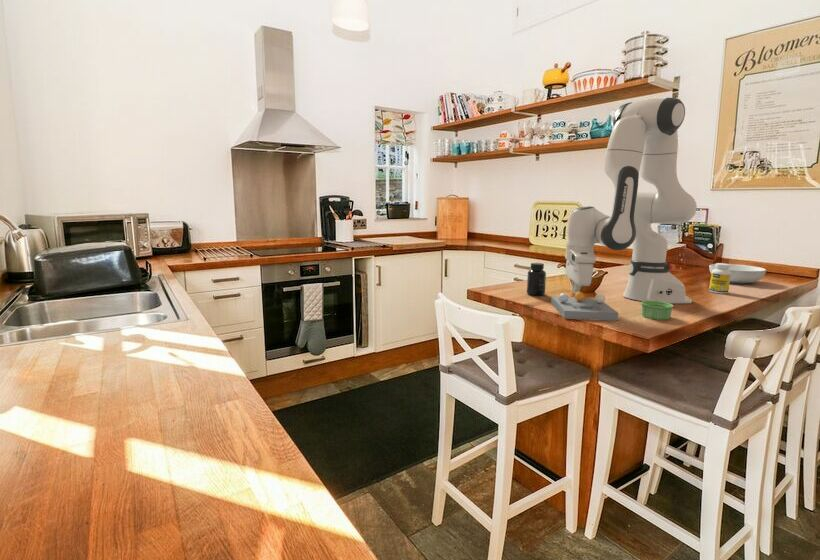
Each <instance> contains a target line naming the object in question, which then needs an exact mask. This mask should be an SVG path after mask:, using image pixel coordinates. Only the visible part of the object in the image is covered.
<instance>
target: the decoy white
mask: <svg viewBox="0 0 820 560" xmlns="http://www.w3.org/2000/svg"><path fill="white" fill-rule="evenodd" d="M594 298H595V301H596V302H597V303H603V302H604V303H605V301H606V297H605V295H604V294H602V293H597V294H596V295H595V296H594Z"/></svg>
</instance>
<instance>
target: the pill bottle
mask: <svg viewBox="0 0 820 560" xmlns="http://www.w3.org/2000/svg"><path fill="white" fill-rule="evenodd" d="M715 264H716V265H715V267H716V269H714V270H712V273H710V274H711V275H710V280H709V288H708V292H711V293H713V294H723V295H725V294H728V293H729V288H730V284H731V283H730V278H731V272H730V271H729V270H728V268H729V267H730V264H731V263H724V262H717V263H715Z"/></svg>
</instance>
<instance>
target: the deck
mask: <svg viewBox="0 0 820 560" xmlns="http://www.w3.org/2000/svg"><path fill="white" fill-rule="evenodd" d="M558 297H559V296H551V299H550V304H551V305H552V307H554V309H555V308H556V309H555V310H556V311H557V312H558V313H559V315H560V316H561V317H562V318H563V319H566V320H567V319H569V320H586V319H589V320H590V321H591V320H592V321H613V322H614V321H617V322H618V320H619V312H618V311H616V310H615V309H614V308H613V307H612V306H610V305H608V304H607V303H605V301H604V302H603V303H597V302H596V301H595V297H585V298H584V300H583V301H577V300H576V299H575V296H568V297H569V299H568V301H567V302H565V303H562V302H560V301H559V298H558Z"/></svg>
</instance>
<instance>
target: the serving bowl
mask: <svg viewBox="0 0 820 560" xmlns="http://www.w3.org/2000/svg"><path fill="white" fill-rule="evenodd" d="M729 264H730V267H729V268H728V270H729V271H730V272H731V278H730V284H731V283H732V284H738V285H739V284H740V285H743V284H750V283H756V282H757V281H758V282H759V280H761V279H763V278H764V276H765V274H766V272H767V269H766V268H763V267H759V266H755V265H746V264H736V263H735V264H734V263H729ZM715 265H716V263H714V264H713V263H712V264H709V267H708V268H709V270H708V271H709V273H710V274H711V273H712V270H714V269H716V267H715Z"/></svg>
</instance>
